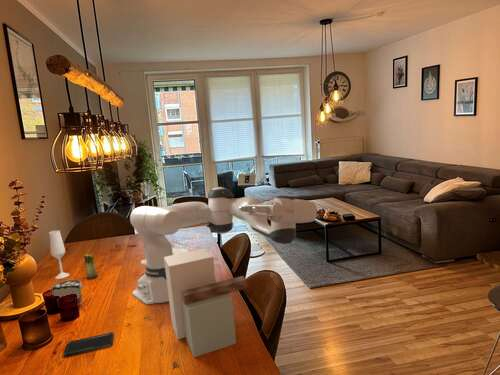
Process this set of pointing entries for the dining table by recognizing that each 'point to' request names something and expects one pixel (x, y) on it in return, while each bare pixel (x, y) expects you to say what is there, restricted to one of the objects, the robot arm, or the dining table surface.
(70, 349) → the phone
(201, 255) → the white pedestal
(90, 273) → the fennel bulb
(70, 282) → the food container
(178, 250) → the medallion
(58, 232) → the champagne flute
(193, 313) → the sage base
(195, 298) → the walnut bar
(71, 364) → the dining table surface
